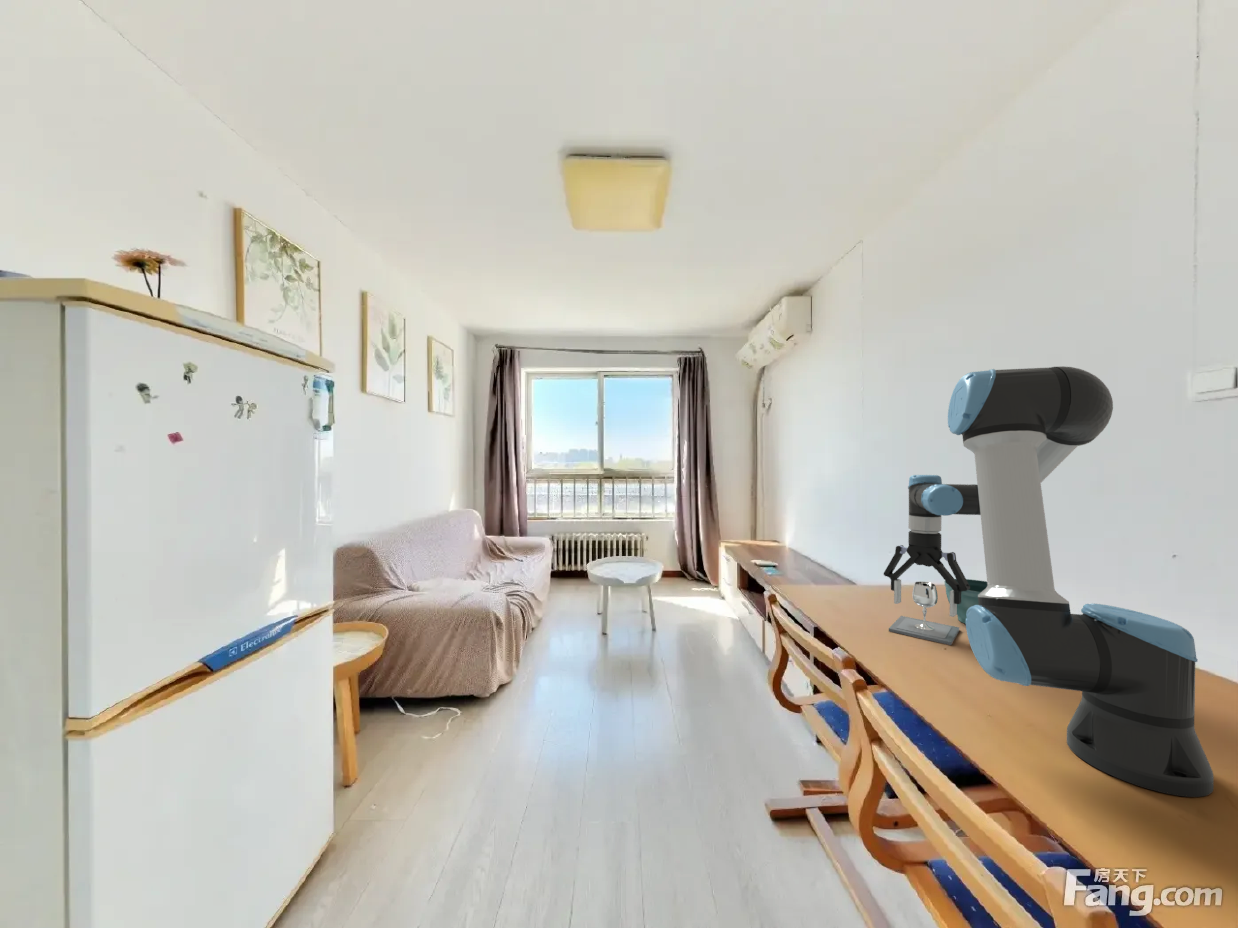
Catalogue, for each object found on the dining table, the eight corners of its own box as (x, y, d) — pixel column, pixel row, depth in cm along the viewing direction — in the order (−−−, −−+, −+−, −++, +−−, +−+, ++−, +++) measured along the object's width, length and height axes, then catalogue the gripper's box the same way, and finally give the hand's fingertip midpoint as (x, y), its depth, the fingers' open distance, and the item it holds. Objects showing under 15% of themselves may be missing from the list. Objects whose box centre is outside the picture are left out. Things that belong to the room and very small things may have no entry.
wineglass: (939, 627, 127) (939, 583, 127) (935, 633, 123) (935, 588, 123) (914, 621, 131) (915, 579, 131) (909, 627, 127) (910, 584, 127)
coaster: (951, 645, 117) (951, 641, 117) (888, 631, 127) (888, 627, 127) (959, 630, 128) (959, 626, 128) (901, 618, 137) (901, 615, 137)
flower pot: (951, 610, 144) (952, 575, 144) (1020, 623, 133) (1020, 585, 132) (937, 622, 134) (937, 585, 133) (1010, 638, 122) (1010, 597, 122)
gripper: (985, 535, 119) (984, 618, 119) (883, 524, 139) (882, 595, 139) (975, 538, 115) (974, 624, 115) (871, 527, 135) (870, 600, 135)
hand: (924, 608), depth 127 cm, fingers open, 13 cm apart
